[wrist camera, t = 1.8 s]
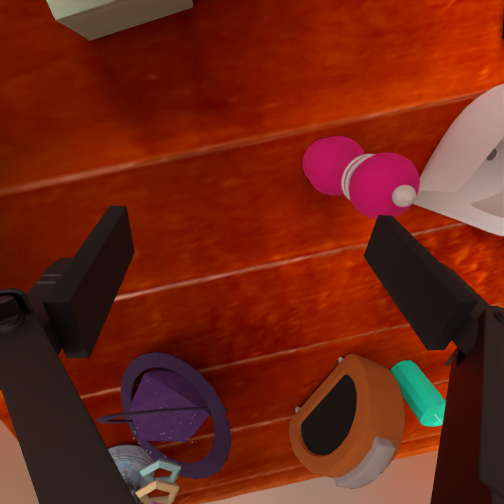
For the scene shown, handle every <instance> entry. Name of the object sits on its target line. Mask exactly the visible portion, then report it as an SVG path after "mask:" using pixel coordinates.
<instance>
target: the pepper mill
mask: <svg viewBox="0 0 504 504" xmlns="http://www.w3.org/2000/svg"><path fill="white" fill-rule="evenodd" d="M302 163H303V171H304V173H305V175H306V177H307V178H308V179H309V180H310V182H311V184H312V185H313V186H314V188H316V189H317V190H318V191H320V192H322V193H324V194H327V195H333V196H336V195H344V194H345V196H346V197H347V198H348V199H349V200H351V202H352V204H353V206H354V207H355V208H356V209H357V210H358V211H359V212H360V213H361V214H363V215H364V216H367V217H369V218H373V219H377V218H378V215H392V216H393V217H396V216H398V215H400V214H402V213H403V212H404V211H406V210H407V209H408V208H409V207H410V206H411V205H412V203H413V202H414V201H415V199H416V197H417V194H418V191H419V186H420V178H419V174H418V171H417V169H416V167H415V166H414V164H413V163H412V162H411V161H410V160H409V159H407V158H405V157H404V156H401V155H399V154H396V153H385V152H384V153H380V154H376V155H375V154H365V152H364V150H363V149H362V147H361V146H360V145H359V144H358V143H357V142H355V141H354V140H352V139H349V138H347V137H343V136H334V137H329V138H322V139H318V140H317V141H315V142H313V143H312V144H311V145H310V146H309V147H308V148H307V150H306V152H305V154H304V157H303V162H302Z"/></svg>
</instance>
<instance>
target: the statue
mask: <svg viewBox="0 0 504 504" xmlns="http://www.w3.org/2000/svg"><path fill="white" fill-rule="evenodd" d="M108 450H109V452H110V454H111V456H112V458H113V460H114V462H115V464H116V465H117V467H118V469H119V471H120V473H121V475H122V477H123V479H124V480H125V482H126V484H127V486H128V488H129V490H130V492H131V494H132V495H133V497H134V499H135V501H136V503H137V504H141V502H142V501H141V500H140V499H139V498H138V496H137V494H136V493H135V492H137V491H138V490H139V489H140V488H141V487H143V486H145V485H147V484H148V482H147V481H146V480H145V479H144V477H143V476H142V475H141V473H140V471H141V470H142V469H144V468H145V467H147V466H148V465H150V464H152V463H154V462H155V461H154V460H153V459H152V458H151V457H150V456H149V455H148V454H147V453H146V451H145V450H144V449H143V448H142V447H140V446H136V445H119V446H115V447H111V448H109V449H108ZM140 455H141V456H140ZM154 472H155V470H154V471H152V472H150V473H149V474H150V475H151V476H152V477H153V475H154Z"/></svg>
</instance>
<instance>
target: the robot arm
mask: <svg viewBox="0 0 504 504" xmlns="http://www.w3.org/2000/svg"><path fill="white" fill-rule="evenodd" d="M134 253H135V251H134V246H133V240H132V234H131V229H130V223H129V218H128V212H127V206H110V207H109V208H108V209H107V211H106V212H105V214H104V215H103V217H102V218H101V219H100V221H99V222H98V224H97V225H96V226H95V228H94V229H93V231H92V232H91V233H90V235H89V236H88V238H87V239H86V240H85V242H84V243H83V245H82V246H81V248H80V249H79V250H78V252H77V253H76V255H75V256H74V257H73V258H61V259H59V260H57V261H56V262H54V263H53V264H51V265H50V266H49V267H48V268H47V270H46V271H45V272H44V273H43V276H41V277H40V278H39V280H38V281H37V284H35V285H34V286H33V287H32V289H31V290H30V291H29V292H28V294H27V295H26V293H25V292H24V291H22V290H19V289H15V288H13V289H3V290H0V390H2V393H3V396H4V399H5V402H6V405H7V408H8V411H9V414H10V417H11V420H12V423H13V426H14V429H15V432H16V435H17V438H18V441H19V444H20V447H21V450H22V453H23V456H24V459H25V461H26V465H27V468H28V471H29V474H30V477H31V480H32V483H33V486H34V489H35V492H36V495H37V497H38V501H39V504H137V503H136V501H135V499H134V497H133V495H132V494H131V492H130V490H129V488H128V486H127V484H126V482H125V480H124V479H123V477H122V475H121V473H120V471H119V469H118V467H117V465H116V464H115V462H114V460H113V458H112V456H111V454H110V452H109V450H108V449H107V447H106V445H105V443H104V441H103V439H102V437H101V435H100V434H99V432H98V430H97V428H96V426H95V424H94V422H93V420H92V419H91V417H90V415H89V413H88V411H87V409H86V407H85V405H84V404H83V402H82V400H81V398H80V396H79V394H78V392H77V390H76V388H75V387H74V385H73V383H72V381H71V379H70V377H69V375H68V373H67V372H66V370H65V368H64V366H63V364H62V362H61V360H60V358H59V357H58V355H59V353H60V351H61V350H62V348H63V350H64V352H65V355H66V357H67V358H90V356H91V353H92V351H93V349H94V346H95V344H96V342H97V339H98V337H99V335H100V332H101V330H102V328H103V325H104V323H105V321H106V318H107V316H108V314H109V311H110V309H111V306H112V304H113V302H114V299H115V297H116V295H117V292H118V290H119V288H120V285H121V283H122V281H123V278H124V276H125V274H126V271H127V269H128V267H129V264H130V262H131V260H132V257H133V255H134ZM364 258H365V259H366V261H367V262H368V263H369V265H370V266H371V268H372V269H373V271H374V272H375V274H376V275H377V277H378V278H379V280H380V281H381V283H382V284H383V286H384V287H385V288H386V290H387V291H388V293H389V294H390V296H391V297H392V299H393V300H394V302H395V303H396V305H397V306H398V308H399V309H400V311H401V312H402V314H403V315H404V316H405V318H406V319H407V321H408V322H409V324H410V325H411V327H412V328H413V330H414V331H415V333H416V334H417V336H418V337H419V339H420V340H421V341H422V343H423V344H424V346H425V347H426V349H427V350H445V349H446V347H447V346H448V344H449V343H450V342H451V340H452V341H453V342H454V343H455V344H456V346H457V348H456V350H455V351H454V352H453V354H452V355H451V356H450V358H449V359H448V360H447V362H446V363H445V365H446V366H448V365H449V364H450V363H452V365H451V371H450V378H449V385H448V391H447V398H446V404H445V411H444V418H443V424H442V431H441V438H440V444H439V451H438V458H437V465H436V471H435V477H434V484H433V491H432V497H431V504H504V308H502V307H498V306H490V305H489V304H488V303H487V302H486V301H485V300H484V299H483V298H482V297H481V296H480V295H479V294H478V293H476V292H475V291H474V290H473V289H472V288H471V287H470V286H469V285H467V283H466V282H465V281H464V280H463V279H461V277H460V276H459V275H458V274H457V273H456V272H455V271H454V270H452V269H451V268H449V267H448V266H446V265H444V264H443V263H440V262H439V261H438V260H437V259H436V258H435V257H433V256H432V255H431V254H430V253H429V252H428V251H427V250H426V249H425V248H424V247H423V246H422V245H421V244H420V243H419V242H418V241H417V240H416V239H415V238H414V237H413V236H412V235H411V234H410V233H409V232H408V231H407V230H406V229H405V228H404V227H403V226H402V225H401V224H400V223H399V222H398V221H397V220H396V219H395V218H394V217H393V216H392V215H378V218H377V221H376V223H375V226H374V229H373V232H372V235H371V237H370V240H369V243H368V246H367V248H366V251H365V254H364Z"/></svg>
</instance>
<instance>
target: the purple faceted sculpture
mask: <svg viewBox="0 0 504 504" xmlns="http://www.w3.org/2000/svg"><path fill="white" fill-rule="evenodd" d="M156 367H159V368H157V369H154V370H152V371H149V372H147V373H145V374H144V375H143V378H142V380H141V382H140V385H139V387H138V389H137V392H136V394H135V396H134V399H133V401H131V393H132V386H133V384H134V382H135V379H136V378H137V377H138V376H139V375H140V373H141V372H143V371H145V370H147V369H149V368H156ZM121 401H122V408H123V411H124V413H120V414H114V415H108V416H103V417H100V418H98V419H96V420H95V421H96V422H98V423H128V425H129V427H130V429H131V431H132V433H133V435H134V437H135V438H136V440H137V441H138V443H139V444H140V445H141V447H142V448H143V449H144V450H145V451H146V453H147V454H148V455H149V456H150V457H151V458H152V459H153V460H154V461H155V462H154V463H152V464H150V465H148V466H147V467H145V468H144V469H142V470H141V471H140V473H141V475H142V476H143V477H144V479H145V480H146V481H147V482H148V483H149V484H147V485H145V486H143V487H141V488H140V489H139V490H138V491H137V492H135V493H136V494H137V496H138V498H139V499H140V500H141V501H142V502H143V503H144V504H172V503H173V501H174V499H175V497H176V495H177V492H178V490H179V488H180V487H179V486H178V485H177V484H175V483H174V482H175V481H176V479H177V476H178V475H179V476H182V477H187V478H192V479H199V478H206V477H210V476H211V475H213V474H215V473H216V472H218V471H220V469H221V468H222V466H223V465H224V463H225V462H226V461H227V459H228V455H229V451H230V446H231V434H230V424H229V421H228V418H227V415H226V411H227V410H228V408H225V407H224V406H223V404H222V403H221V401H220V399H219V397H218V396H217V394H216V392H215V390H214V389H213V387H212V386H211V385H210V384H209V383H208V382H207V380H206V379H205V378H204V377H203V376H202V375H201V373H199V372H198V371H197V370H195V369H194V368H193V367H192V366H190V365H189V364H188V363H186V362H185V361H183V360H180V359H178V358H176V357H174V356H172V355H169V354H163V353H158V352H155V353H148V354H143V355H141V356H139V357H138V358H136V359H134V360H133V361H132V362H131V363H130V365H129V366H128V367H127V368H126V371H125V373H124V376H123V378H122V384H121ZM208 415H211V416H212V419H213V422H214V435H215V436H214V441H213V446H212V448H211V450H210V451H209V453H208V455H207V456H206V457H204V458H203V459H201V460H200V461H198V462H192V463H184V462H178V461H176V460H173V459H171V458H169V457H167V456H166V455H164V454H163V453H161V452H160V451H158V450H157V449H156V448H155V447H154V446H153V445H152V444H151V443H150V442H149V441H176V442H188V440H189V439H190V438H191V437H192V435H193V434H194V433H195V432H196V430H197V429H198V428H199V427H200V425H201V424H202V423H203V421H204V420H205V419H206V418H207V416H208ZM119 417H125V418H126V420H109V419H114V418H119ZM199 430H200V429H199ZM133 439H134V438H133ZM192 443H193V442H192ZM140 456H141V455H140ZM157 468H162V469H165V470H168V471H171V472H172V475H171V476H165V477H156V478H153V477H152V476H151V475H150V474H149V473H150V472H152V471H154V470H156V469H157ZM154 489H159V490H163V491H167V492H170V494H169V496H163V497H154V498H149V497H148V495H147V493H149V492H151V491H153V490H154Z"/></svg>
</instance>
